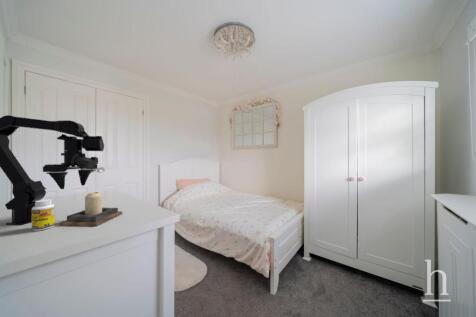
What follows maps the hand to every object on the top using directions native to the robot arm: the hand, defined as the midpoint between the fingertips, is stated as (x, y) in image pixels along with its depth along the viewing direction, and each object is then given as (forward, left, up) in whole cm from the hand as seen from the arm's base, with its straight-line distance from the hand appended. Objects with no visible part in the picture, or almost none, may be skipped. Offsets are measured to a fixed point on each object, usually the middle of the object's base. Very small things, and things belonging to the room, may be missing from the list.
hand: (73, 187), depth 75 cm
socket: (+11, -2, -13) cm, 17 cm away
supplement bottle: (0, -12, -13) cm, 18 cm away
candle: (+11, -2, -12) cm, 16 cm away
